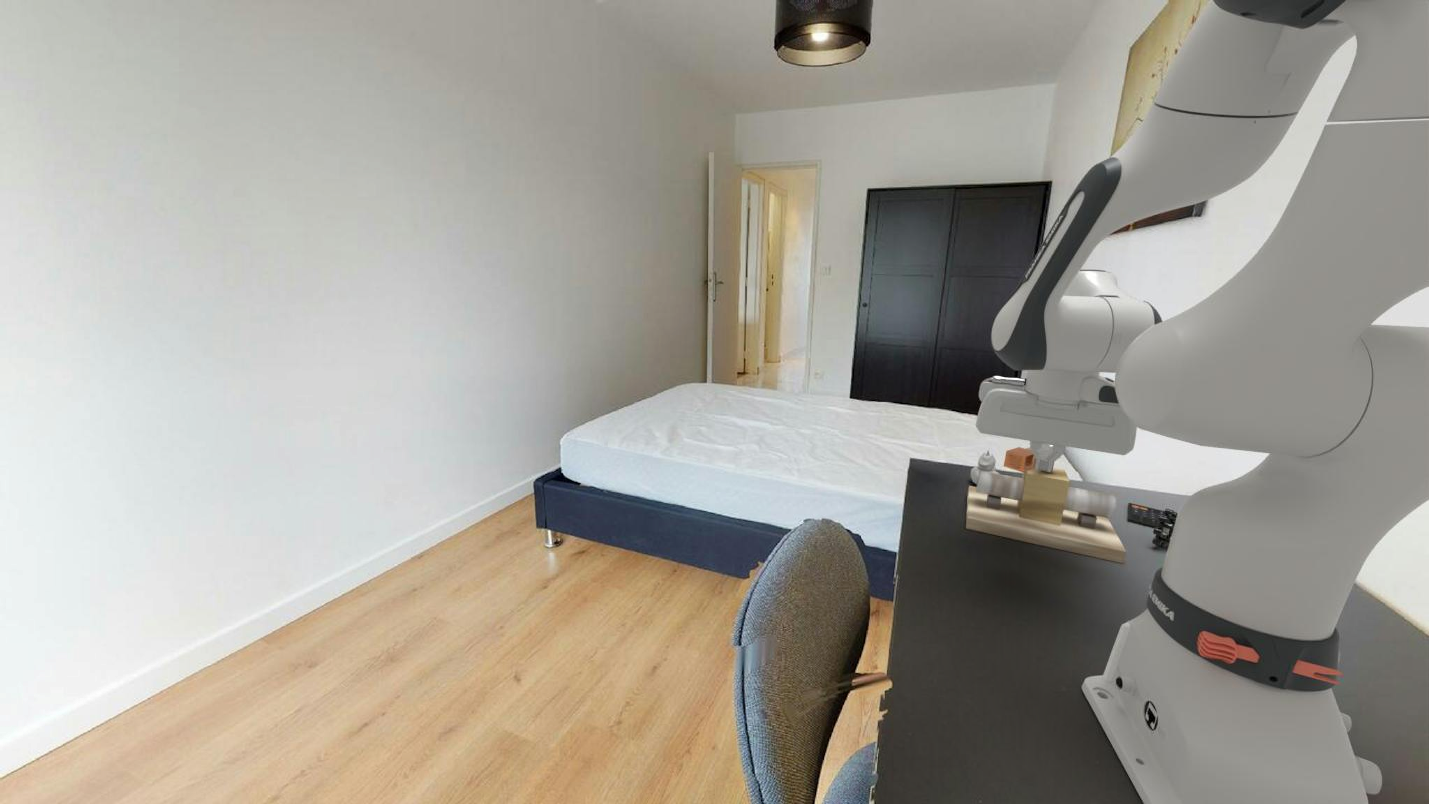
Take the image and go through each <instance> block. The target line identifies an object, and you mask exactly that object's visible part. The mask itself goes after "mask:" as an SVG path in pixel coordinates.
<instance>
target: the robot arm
mask: <svg viewBox="0 0 1429 804" xmlns="http://www.w3.org/2000/svg"><path fill="white" fill-rule="evenodd" d="M1353 37H1355V38H1356V50H1355V52H1356V53H1355V56H1354V59H1353V61H1352V65H1351V68H1350V70H1349V73H1348V75H1347V78H1346V80H1345V82H1344V83H1343V85H1342V87H1341V89H1340V92H1339V93H1338V96H1337V97H1336V100H1335V102H1334V105H1333V107H1332V109H1331V111H1330V114H1329V115H1328V117H1327V119H1326V122H1327V123H1331V124H1324V126H1323V129H1322V131H1321V133H1320V135H1319V139H1318V140H1317V143H1316V144H1315V146H1314V148H1313V151H1312V153H1311V155H1310V158H1309V160H1308V162H1307V164H1306V167H1305V168H1304V171H1303V172H1302V175H1301V177H1300V179H1299V181H1298V183H1297V186H1296V187H1295V189H1294V191H1293V194H1292V196H1291V197H1290V199H1289V202H1288V203H1287V205H1286V207H1285V209H1284V211H1283V213H1282V214H1281V217H1280V219H1279V221H1278V222H1277V224H1276V226H1275V227H1274V228H1273V230H1272V232H1271V233H1270V235H1269V236H1268V238H1267V239H1266V241H1265V242H1264V243H1263V244H1262V245H1261V246H1260V248H1259V249H1258V250H1257V252H1256V253H1255V254H1254V255H1253V257H1251V259H1250V260H1249V261H1248V262H1247V263H1246V264H1245V265H1244V266H1243V267H1242V268H1241V269H1240V270H1239V271H1238V272H1236V274H1234V275H1233V277H1232V278H1230V279H1229V280H1227V282H1226V283H1224V284H1223V285H1222V286H1221V287H1220V288H1218V289H1217V290H1216V291H1214V292H1213V293H1211V294H1210V295H1209V296H1208V297H1206V298H1204V299H1203V300H1201V301H1199V302H1198V303H1196V304H1194V306H1192V307H1190V308H1188V309H1186V310H1184V311H1183V312H1180V313H1179V314H1176V315H1175V316H1172V317H1170V318H1167V319H1166V320H1163V319H1162V316H1161V315H1160V313H1159V311H1158V310H1157V309H1156V308H1155V307H1154V306H1153V305H1152V304H1151V303H1150V302H1149V301H1146V300H1140V299H1138V298H1136V297H1133V296H1132V295H1129V294H1128V293H1126V292H1125V291H1124V290H1123V289H1121V288H1120V287H1119V286H1118V285H1119V284H1118V279H1117V277H1116V275H1115V274H1114V273H1112V272H1109V271H1106V270H1104V269H1103V270H1101V269H1082V268H1083V267H1084V265H1085V264H1086V262H1087V260H1089V257H1090V256H1091V254H1092V253H1093V251H1094V250H1095V249H1096V247H1098V245H1099V244H1100V243H1101V242H1102V241H1103V240H1104V239H1106V238H1107V237H1108V236H1110V235H1111V234H1112V233H1114V232H1116V231H1118V230H1120V229H1122V228H1124V227H1126V226H1128V225H1131V224H1134V223H1136V222H1138V221H1140V220H1144V219H1147V218H1150V217H1153V216H1155V215H1159V214H1163V213H1167V212H1170V211H1173V210H1177V209H1181V208H1185V207H1189V206H1193V205H1196V204H1199V203H1203V202H1205V201H1209V200H1211V199H1213V198H1215V197H1218V196H1220V195H1223V194H1225V193H1226V192H1228V191H1230V190H1232V189H1234V188H1237V187H1238V186H1239V185H1241V184H1242V183H1244V182H1245V181H1247V180H1249V179H1250V178H1251V177H1252V176H1254V174H1255V173H1257V172H1258V171H1259V169H1261V168H1262V167H1263V166H1264V165H1265V163H1266V162H1267V161H1268V160H1269V159H1270V157H1272V155H1273V154H1274V152H1275V151H1276V150H1277V149H1278V147H1279V146H1280V145H1281V142H1282V141H1283V139H1284V137H1285V135H1287V133H1288V131H1289V129H1290V128H1291V126H1292V124H1293V123H1294V121H1295V119H1296V118H1297V115H1298V114H1299V112H1300V110H1301V109H1302V107H1303V105H1304V104H1305V102H1306V100H1307V98H1308V97H1309V95H1310V93H1311V91H1312V90H1313V88H1314V86H1315V84H1316V82H1317V80H1318V78H1319V77H1320V75H1321V74H1322V71H1323V70H1324V68H1326V67H1325V66H1326V65H1327V64H1328V62H1329V61H1330V60H1331V58H1332V57H1333V55H1334V54H1335V53H1336V52H1337V51H1338V49H1340V48H1341V47H1342V46H1343V45H1344V44H1345V43H1346V42H1347V41H1349V40H1351V39H1352V38H1353ZM1150 105H1151V106H1150V108H1149V109H1148V111H1147V113H1146V115H1145V117H1144V118H1143V120H1142V121H1141V123H1140V124H1139V126H1138V127H1137V129H1136V130H1135V131H1134V132H1133V134H1132V135H1130V137H1129V138H1128V140H1126V141H1125V142H1124V144H1123V145H1122V146H1121V147H1120V148H1119V149H1118V150H1116V151H1115V152H1114V153H1113V154H1112V155H1111V156H1110V157H1109V158H1106V159H1105V160H1102V161H1100V162H1098V163H1096V164H1095V165H1093V166H1092V167H1091V168H1090V169H1089V170H1087V172H1086V174H1085V175H1084V176H1083V177H1082V179H1081V180H1080V181H1079V183H1078V184H1077V186H1076V187H1075V189H1073V192H1072V193H1071V195H1070V196H1069V198H1068V199H1067V201H1066V202H1065V204H1064V205H1063V208H1062V209H1061V211H1060V213H1059V214H1058V216H1057V218H1056V219H1055V221H1054V223H1053V225H1052V227H1051V228H1050V230H1049V231H1048V233H1047V235H1046V236H1045V238H1044V240H1043V242H1042V244H1041V245H1040V247H1039V249H1038V251H1037V253H1036V254H1035V255H1034V257H1033V259H1032V261H1031V263H1030V264H1029V265H1028V266H1029V267H1028V268H1027V269H1026V270H1025V273H1024V274H1023V276H1022V278H1021V280H1020V281H1019V283H1018V284H1017V286H1016V287H1015V289H1014V291H1013V292H1012V293H1011V294H1010V296H1008V297H1007V299H1006V300H1005V302H1004V303H1003V304H1002V305H1001V307H1000V308H999V310H998V312H997V314H996V316H995V318H994V321H993V324H992V328H991V333H990V345H991V349H992V350H993V352H994V353H995V355H996V356H997V357H998V358H999V359H1000V360H1001V361H1002V362H1003V363H1005V365H1006V366H1007V367H1009V368H1011V369H1012V370H1013V371H1027V372H1026V376H1025V378H1022V377H1021V378H1019V377H1004V376H1001V375H993V376H992V377H989V378H985V379H984V380H983V381H981V383H980V385H979V390H978V398H979V401H980V402H981V403H980V407H979V410H978V413H977V416H976V423H975V428H976V429H977V431H978V432H979V433H980V434H984V435H991V436H996V437H997V436H998V437H1004V438H1008V439H1010V438H1011V439H1015V440H1016V439H1017V440H1022V441H1029V448H1031V450H1032V452H1033V454H1034V457H1035V461H1034V469H1036V470H1042V471H1047V472H1051V470H1052V466H1053V462H1054V463H1055V462H1056V461H1058V459H1060V458H1061V457H1062V456H1063V455H1064V454H1065V452H1066V447H1069V448H1074V449H1081V450H1087V451H1092V452H1093V451H1094V452H1099V453H1100V452H1101V453H1107V454H1115V455H1119V456H1126V455H1127V454H1129V453H1131V452H1132V451H1133V450H1134V448H1135V444H1136V437H1137V429H1140V430H1141V431H1146V432H1149V433H1153V434H1156V435H1159V436H1163V437H1166V438H1170V439H1174V440H1177V441H1181V442H1185V443H1188V444H1193V445H1195V446H1196V445H1197V446H1200V447H1205V448H1206V447H1208V448H1217V449H1225V450H1234V451H1235V450H1236V451H1243V452H1244V451H1245V452H1254V453H1260V454H1261V453H1262V454H1268V455H1267V456H1266V457H1265V458H1264V459H1263V460H1261V462H1260V463H1259V464H1258V465H1256V467H1254V468H1253V469H1251V470H1250V471H1248V472H1247V473H1244V474H1243V475H1240V476H1239V477H1237V478H1234V479H1232V480H1229V481H1226V482H1222V483H1218V484H1214V485H1211V486H1207V487H1204V488H1202V489H1200V490H1198V491H1196V492H1194V493H1193V494H1192V495H1190V496H1189V497H1188V498H1187V499H1185V501H1184V502H1183V503H1182V504H1181V506H1180V507H1179V509H1178V512H1177V513H1178V515H1177V518H1176V522H1175V526H1174V529H1173V533H1172V536H1171V540H1170V543H1168V547H1167V551H1166V556H1165V558H1164V562H1163V565H1162V566H1161V567H1160V568H1158V569H1157V570H1156V572H1155V573H1154V576H1153V579H1151V581H1150V583H1149V587H1148V596H1147V598H1146V609H1145V610H1144V611H1143V612H1142V613H1140V614H1139V615H1138V616H1136V617H1134V618H1132V619H1130V620H1128V621H1126V622H1125V623H1122V624H1121V625H1120V628H1119V631H1118V633H1117V636H1116V638H1115V641H1114V644H1113V647H1112V649H1111V652H1110V655H1109V658H1108V660H1107V664H1106V666H1105V669H1104V671H1103V674H1102V675H1092V676H1087V677H1085V679H1084V681H1083V682H1082V685H1081V691H1082V692H1083V694H1084V697H1085V698H1086V700H1087V701H1088V703H1089V705H1090V707H1091V709H1092V711H1093V713H1094V714H1095V717H1096V718H1097V720H1098V722H1099V724H1100V725H1101V727H1102V729H1103V732H1105V734H1106V736H1107V738H1108V741H1109V743H1110V744H1111V745H1112V748H1113V750H1114V752H1115V753H1116V756H1117V757H1118V759H1119V761H1120V763H1121V765H1122V766H1123V768H1124V770H1125V771H1126V773H1127V775H1128V777H1129V779H1130V780H1131V782H1132V785H1133V787H1134V789H1135V790H1136V792H1137V793H1138V796H1139V797H1140V799H1141V801H1142V803H1143V804H1369V798H1368V795H1378V794H1379V793H1380V791H1381V789H1382V787H1383V775H1382V771H1381V770H1380V769H1381V768H1380V767H1379V766H1378V765H1377V764H1376V763H1374V762H1372V761H1370V760H1367V759H1364V758H1362V757H1359V756H1357V755H1355V753H1354V750H1353V747H1352V745H1351V741H1350V737H1349V734H1348V733H1349V732H1351V729H1352V718H1351V717H1350V715H1348V714H1346V713H1344V712H1341V711H1340V709H1339V705H1338V704H1337V700H1336V698H1335V694H1334V692H1333V687H1335V686H1336V685H1339V682H1338V676H1342V675H1343V673H1342V672H1341V671H1340V670H1338V667H1339V664H1338V663H1340V662H1341V650H1340V649H1339V647H1340V633H1339V630H1338V629H1337V627H1336V626H1337V623H1338V621H1339V619H1340V616H1341V614H1342V611H1343V609H1344V607H1345V604H1346V602H1347V600H1348V598H1349V596H1350V593H1351V591H1352V588H1353V586H1354V584H1355V583H1356V580H1357V578H1358V576H1359V574H1360V572H1361V570H1362V568H1363V566H1364V564H1365V562H1366V560H1367V559H1368V558H1369V556H1370V554H1371V553H1372V552H1373V550H1374V548H1375V547H1376V546H1377V545H1378V543H1380V541H1381V540H1382V539H1383V538H1384V537H1385V536H1386V535H1387V534H1388V533H1389V532H1390V531H1391V530H1392V529H1393V528H1394V527H1395V526H1397V525H1398V524H1399V523H1400V522H1401V521H1402V520H1404V519H1405V518H1406V517H1407V516H1409V515H1410V514H1411V513H1412V512H1414V511H1415V510H1417V508H1419V507H1420V506H1422V505H1423V504H1425V503H1426V502H1428V501H1429V327H1428V326H1427V327H1426V326H1408V325H1407V326H1406V325H1389V324H1388V325H1386V324H1373V323H1374V322H1375V321H1376V320H1377V319H1378V318H1380V317H1381V316H1382V315H1383V314H1385V313H1386V312H1388V311H1389V310H1390V309H1391V308H1393V307H1394V306H1396V305H1397V304H1399V303H1400V302H1402V301H1404V300H1405V299H1407V298H1409V297H1410V296H1412V295H1415V293H1418V292H1420V291H1422V290H1424V289H1426V288H1429V0H1208V2H1207V3H1206V5H1205V6H1204V7H1203V9H1202V11H1201V12H1200V14H1199V15H1198V17H1197V18H1196V21H1195V22H1194V23H1193V25H1192V26H1191V29H1190V30H1189V32H1188V33H1187V35H1186V37H1185V38H1184V40H1183V41H1182V43H1181V46H1180V47H1179V49H1178V51H1177V53H1176V54H1175V56H1174V58H1173V60H1172V62H1171V64H1170V66H1169V67H1168V69H1167V72H1166V73H1165V75H1164V77H1163V79H1162V81H1161V83H1160V86H1159V88H1158V90H1157V93H1156V94H1155V96H1154V98H1153V102H1152V103H1151V104H1150ZM1368 121H1370V122H1368ZM1375 121H1376V122H1375ZM1336 122H1337V123H1336ZM1341 122H1350V123H1341ZM1332 123H1334V124H1332ZM1100 373H1109V374H1110V373H1115V376H1114V380H1113V379H1111V378H1109V377H1105V376H1102V375H1100ZM1042 443H1047V444H1053V445H1052V448H1053V450H1054V451H1053V452H1052V453H1051V454H1050V455H1049V456H1048V457H1047V458H1045V457H1040V455H1039V452H1038V450H1037V449H1041V446H1042ZM1060 456H1061V457H1060ZM1059 457H1060V458H1059ZM1053 467H1054V466H1053ZM1367 794H1368V795H1367Z"/></svg>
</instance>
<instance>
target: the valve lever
mask: <svg viewBox="0 0 1429 804" xmlns="http://www.w3.org/2000/svg"><path fill="white" fill-rule="evenodd" d="M1052 445H1053V444H1047V443H1042V446H1041V449H1037V450H1038V452H1039V455H1040V457H1045V458H1047V457H1048V456H1049V455H1050V454H1051V453H1052V452H1053V451H1054V450H1053V448H1052ZM1004 456H1005V457H1004V462H1003V467H1005V468H1008V469H1011V470H1014V471H1016V472H1017V471H1018V472H1021V473H1023V472H1026V471H1029V470H1031V469H1034V461H1035V457H1034V454H1033V452H1032V450H1031V448H1030V447H1026V448H1023V447H1020V446H1018V447H1015V448H1011V449H1009V450H1006V451H1005V455H1004ZM1061 458H1062V456H1060V457H1059V458H1058V459H1061Z"/></svg>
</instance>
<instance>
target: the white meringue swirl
mask: <svg viewBox="0 0 1429 804" xmlns="http://www.w3.org/2000/svg"><path fill="white" fill-rule="evenodd" d="M977 465H978V466H977ZM977 465H976V466H974V467H972V468H971V469H970V478H971V480H972V483H974V484H975V485H977V481H978V475H979V471H984V472H990V473H996V474H1000V472H998V471H997V470H996V469H997V467H996V458H995V456H994V454H990V450H989V449H988V450H987V452H983V453H982V455H981V456H980V457H979V458H978V462H977Z"/></svg>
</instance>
